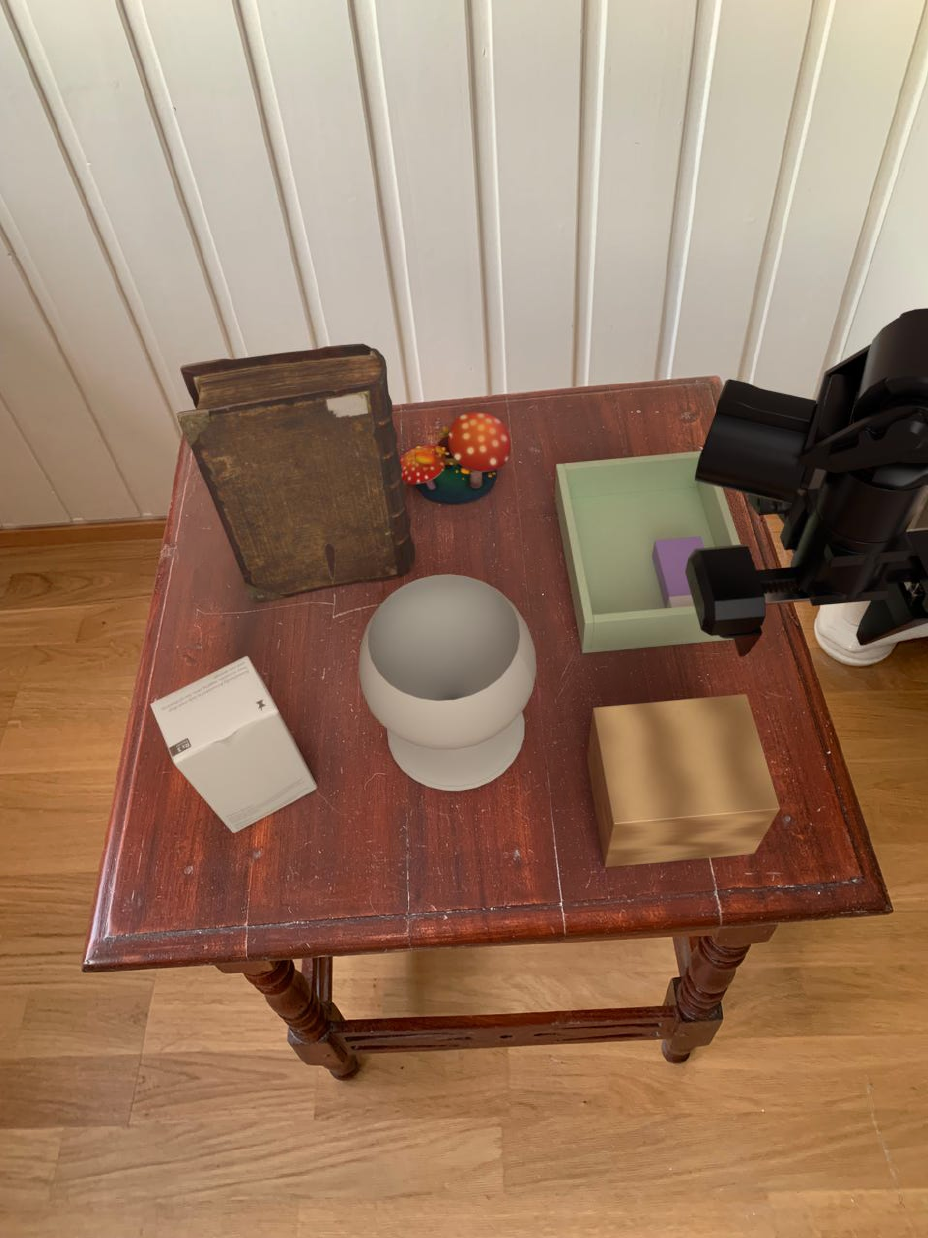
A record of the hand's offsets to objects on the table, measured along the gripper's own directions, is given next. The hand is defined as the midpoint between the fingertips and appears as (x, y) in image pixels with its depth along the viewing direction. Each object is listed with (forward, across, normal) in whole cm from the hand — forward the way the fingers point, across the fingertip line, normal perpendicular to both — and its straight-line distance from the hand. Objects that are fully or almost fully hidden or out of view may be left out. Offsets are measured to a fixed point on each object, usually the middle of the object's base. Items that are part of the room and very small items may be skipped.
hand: (800, 645), depth 69 cm
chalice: (+12, +27, -2) cm, 30 cm away
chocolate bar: (+12, +4, -14) cm, 19 cm away
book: (+12, +38, -21) cm, 45 cm away
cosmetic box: (+12, +44, +2) cm, 46 cm away
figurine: (+12, +25, -33) cm, 43 cm away
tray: (+12, +7, -18) cm, 23 cm away
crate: (+12, +10, +7) cm, 17 cm away
